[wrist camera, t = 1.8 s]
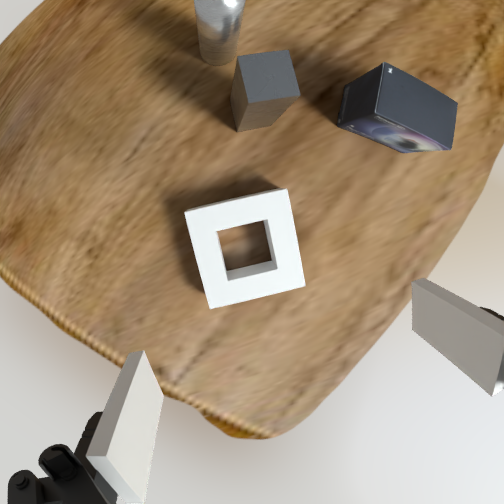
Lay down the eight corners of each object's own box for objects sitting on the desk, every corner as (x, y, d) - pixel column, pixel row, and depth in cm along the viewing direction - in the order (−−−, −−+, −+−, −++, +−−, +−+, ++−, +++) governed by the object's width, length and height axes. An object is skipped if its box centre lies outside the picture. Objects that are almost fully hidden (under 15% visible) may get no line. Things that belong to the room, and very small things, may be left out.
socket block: (187, 209, 36) (184, 212, 32) (279, 188, 37) (287, 188, 33) (210, 296, 39) (209, 309, 35) (297, 275, 39) (305, 285, 35)
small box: (334, 129, 36) (373, 113, 26) (343, 83, 35) (382, 57, 25) (403, 156, 38) (453, 152, 27) (411, 113, 36) (459, 100, 26)
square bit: (229, 100, 34) (237, 56, 20) (263, 94, 34) (288, 49, 21) (237, 132, 35) (248, 103, 21) (270, 125, 35) (300, 95, 22)
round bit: (197, 39, 32) (189, -23, 18) (232, 33, 32) (241, -31, 18) (203, 69, 33) (197, 13, 19) (239, 62, 33) (252, 5, 19)
